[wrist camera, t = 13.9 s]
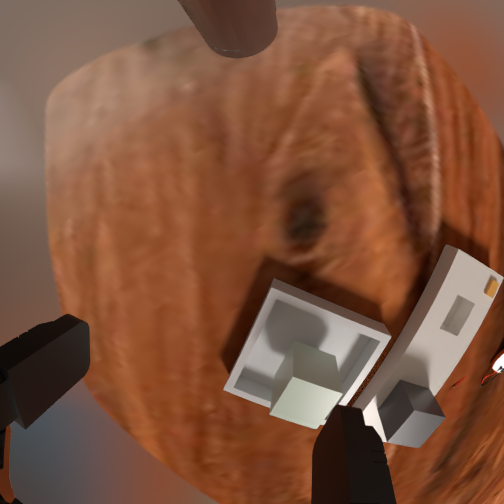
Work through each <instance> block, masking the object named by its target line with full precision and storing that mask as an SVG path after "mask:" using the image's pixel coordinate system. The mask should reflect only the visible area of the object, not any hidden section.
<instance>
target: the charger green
mask: <svg viewBox="0 0 504 504" xmlns="http://www.w3.org/2000/svg"><path fill="white" fill-rule="evenodd" d="M342 394H343V391H342V386H341V381H340V376H339V371H338V366H337V361H336V356H334V355H332V354H329V353H326V352H324V351H321V350H319V349H318V348H317V347H314V346H312V345H309V344H307V343H304V342H302V343H300V342H298V341H295V340H294V341H293V343H292V345H291V347H290V348H289V350H288V352H287V354H286V356H285V358H284V359H283V361H282V363H281V365H280V367H279V368H278V370H277V372H276V374H275V378H274V385H273V392H272V399H271V406H270V412H269V414H270V415H273V416H276V417H279V418H282V419H285V420H288V421H291V422H294V423H297V424H300V425H303V426H307V427H310V428H314V429H317V428H318V427H319V425H320V424H321V423H322V422H323V420H324V419H325V418H326V416H327V415H328V414H329V412H330V411H331V410H332V408H333V407H334V406H335V404H336V403H337V401H338V400H339V399H340V397H341V396H342Z"/></svg>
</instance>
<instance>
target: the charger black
mask: <svg viewBox="0 0 504 504" xmlns="http://www.w3.org/2000/svg"><path fill="white" fill-rule="evenodd" d="M378 414H379V417H380V420H381V424H382V427H383V430H384V434H385V437H386V441H387V442H388V443H393V444H398V445H404V446H410V447H416V448H419V447H420V446H421V445H422V444H423V443H424V442H425V441H426V440H427V439H428V438H429V436H430V435H431V434H432V433H433V432H434V431H435V430H436V428H437V427H438V426H439V425H440V424H441V423H442V421H443V420H444V419H445V418H446V417H445V415H444V413H443V412H442V410H441V408H440V406H439V404H438V403H437V401H436V399H435V397H434V396H433V394H432V392H431V390H430V389H429V388H426V387H423V386H419V385H416V384H413V383H410V382H406V381H403V380H399V382H398V383H397V384H396V386H395V387H394V389H393V390H392V391H391V393H390V394H389V395H388V397H387V398H386V399H385V401H384V402H383V403H382V405H381V406H380V407H379V409H378Z"/></svg>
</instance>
